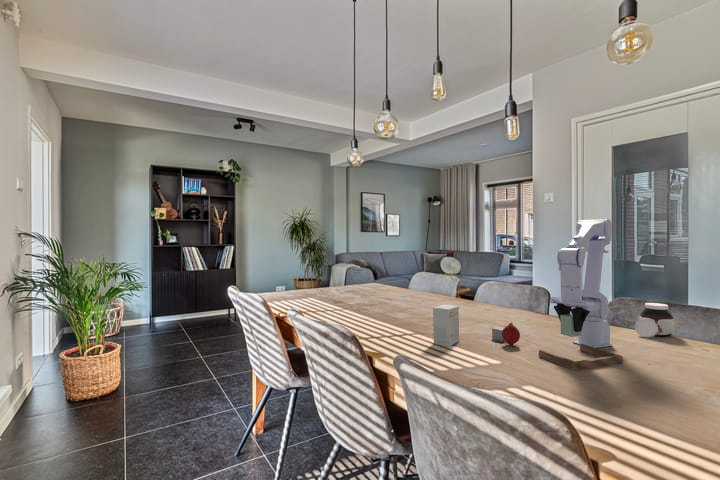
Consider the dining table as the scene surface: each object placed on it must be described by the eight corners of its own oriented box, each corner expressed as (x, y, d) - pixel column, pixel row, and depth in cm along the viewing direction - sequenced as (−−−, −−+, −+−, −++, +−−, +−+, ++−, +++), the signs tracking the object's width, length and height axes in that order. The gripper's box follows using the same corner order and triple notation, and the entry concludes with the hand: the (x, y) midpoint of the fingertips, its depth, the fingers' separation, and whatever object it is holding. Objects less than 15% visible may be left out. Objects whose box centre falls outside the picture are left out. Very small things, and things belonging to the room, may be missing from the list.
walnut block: (582, 349, 121) (582, 343, 121) (622, 362, 108) (622, 355, 108) (538, 356, 115) (538, 349, 115) (575, 370, 103) (575, 363, 103)
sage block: (570, 332, 117) (570, 313, 117) (581, 335, 113) (581, 316, 113) (560, 333, 116) (560, 314, 116) (571, 337, 112) (571, 317, 112)
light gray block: (498, 337, 138) (498, 326, 138) (508, 339, 135) (507, 328, 135) (492, 339, 136) (492, 328, 136) (502, 341, 132) (502, 330, 132)
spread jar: (672, 334, 138) (671, 303, 138) (678, 341, 129) (677, 308, 129) (632, 330, 145) (632, 301, 145) (635, 337, 135) (635, 305, 135)
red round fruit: (521, 348, 124) (521, 324, 124) (503, 347, 125) (503, 324, 125) (518, 343, 129) (517, 320, 129) (500, 342, 130) (500, 320, 130)
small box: (443, 338, 136) (443, 303, 136) (459, 341, 132) (459, 305, 132) (432, 343, 130) (432, 307, 130) (449, 346, 126) (448, 309, 126)
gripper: (542, 284, 120) (543, 325, 120) (581, 290, 106) (582, 336, 106) (559, 283, 122) (559, 323, 122) (599, 288, 108) (600, 334, 108)
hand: (571, 329), depth 114 cm, fingers closed on sage block, 4 cm apart
